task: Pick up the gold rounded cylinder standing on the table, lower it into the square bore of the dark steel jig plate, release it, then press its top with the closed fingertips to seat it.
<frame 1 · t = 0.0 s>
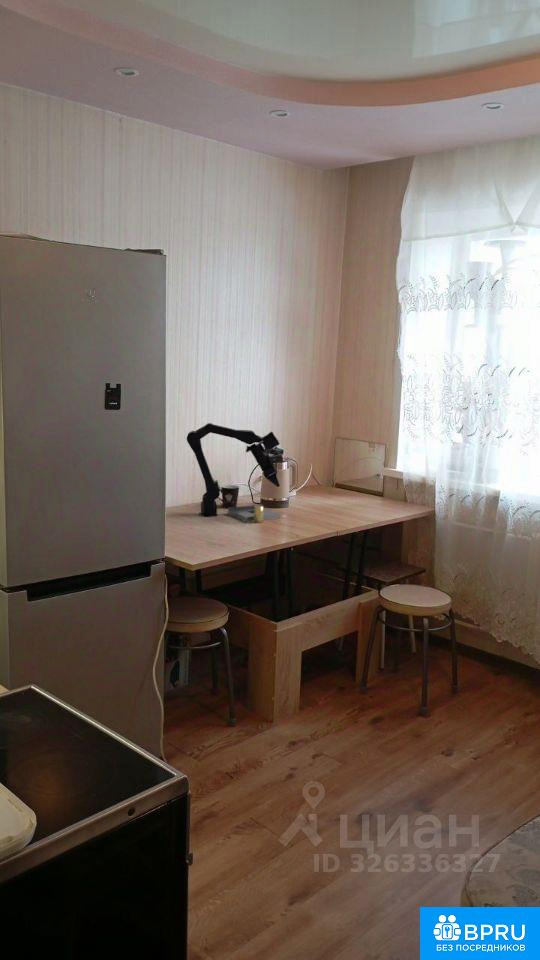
hand: (278, 484, 355), 15 cm above the table, tool tilted 35°, fingers open, 9 cm apart
coffee mug: (227, 507, 375), on the table
jig: (253, 516, 356), on the table
gold rounded cylinder: (258, 522, 345), on the table
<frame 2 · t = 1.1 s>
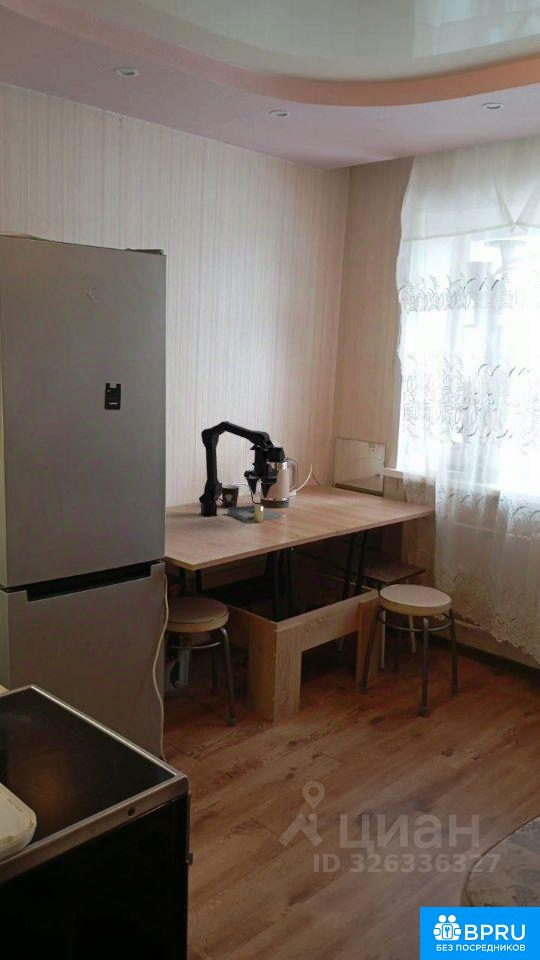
hand: (259, 496, 343), 12 cm above the table, tool pointing down, fingers open, 9 cm apart
nothing on the table moved.
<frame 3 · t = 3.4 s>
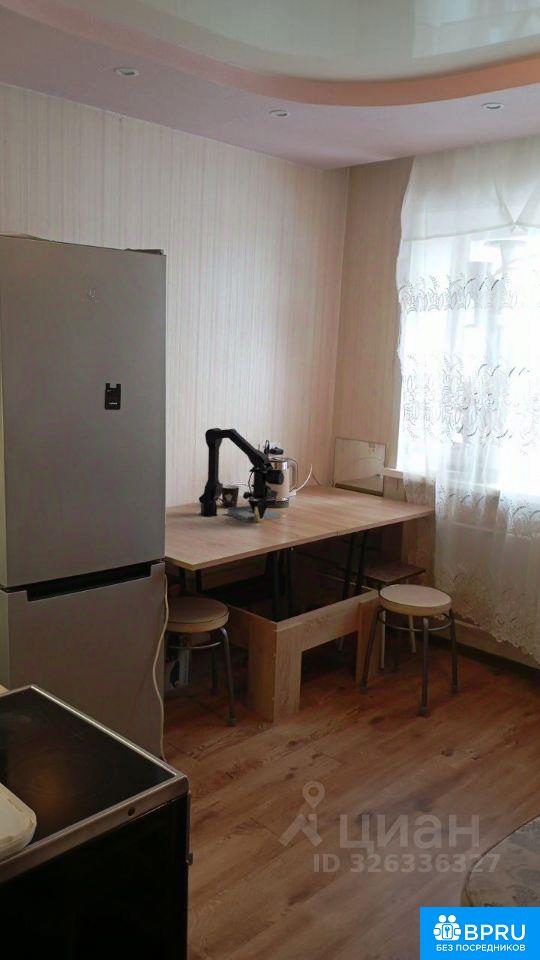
hand: (258, 517, 345), 2 cm above the table, tool pointing down, fingers closed on gold rounded cylinder, 4 cm apart
gold rounded cylinder: (258, 522, 345), on the table, touching gripper
everything else where it was.
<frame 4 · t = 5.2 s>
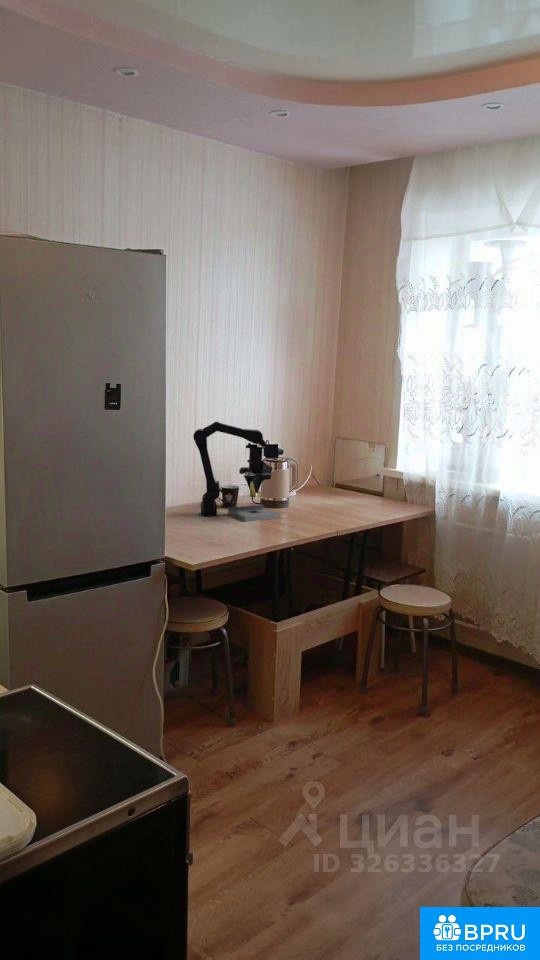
hand: (254, 492, 354), 11 cm above the table, tool pointing down, fingers closed on gold rounded cylinder, 4 cm apart
gold rounded cylinder: (254, 496, 355), point 9 cm above the table, touching gripper
everything else where it was.
when the fingers open (3 cm above the table, at t = 7.0 s): gold rounded cylinder drops 1 cm, resting in jig.
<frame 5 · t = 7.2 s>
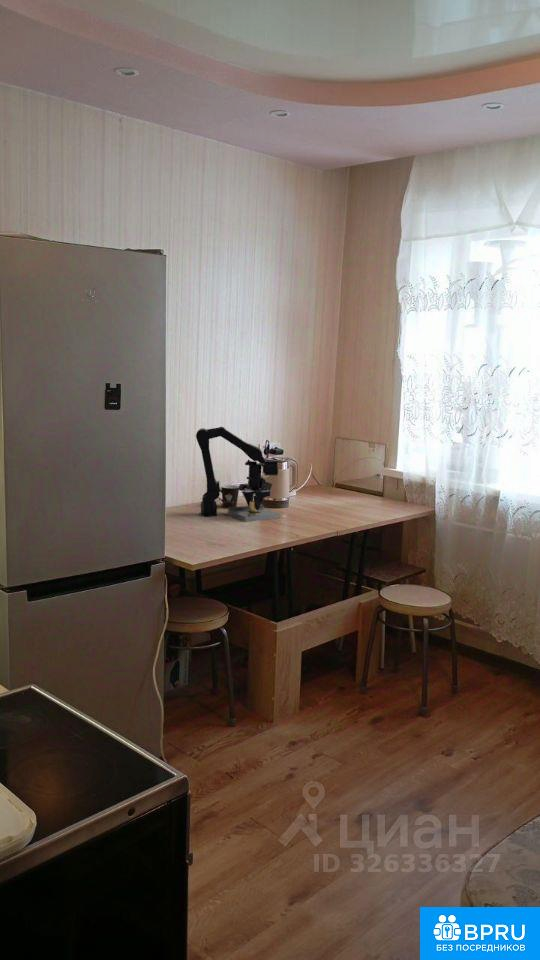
hand: (253, 508, 356), 3 cm above the table, tool pointing down, fingers open, 6 cm apart
gold rounded cylinder: (253, 516, 356), resting in jig
everything else where it was.
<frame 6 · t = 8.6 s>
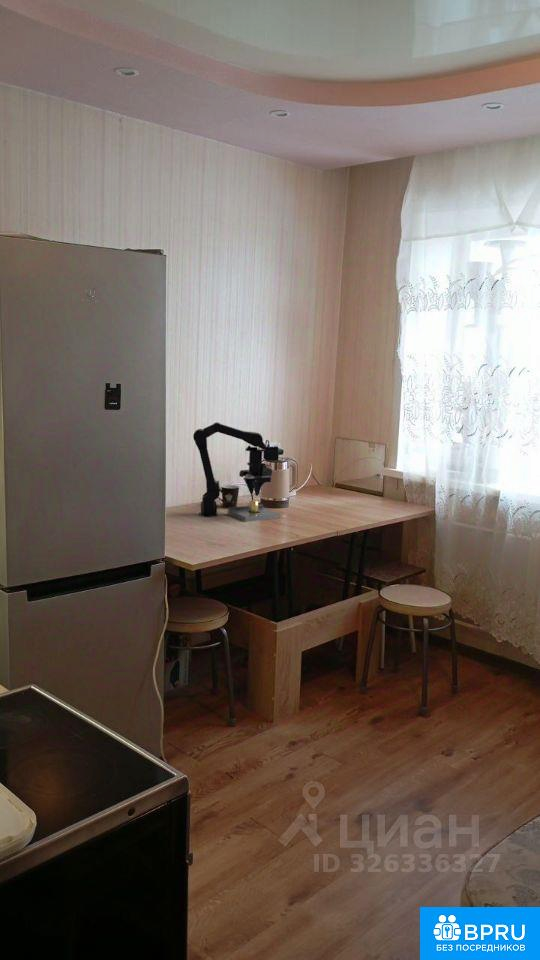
hand: (254, 494, 355), 10 cm above the table, tool pointing down, fingers open, 4 cm apart
nothing on the table moved.
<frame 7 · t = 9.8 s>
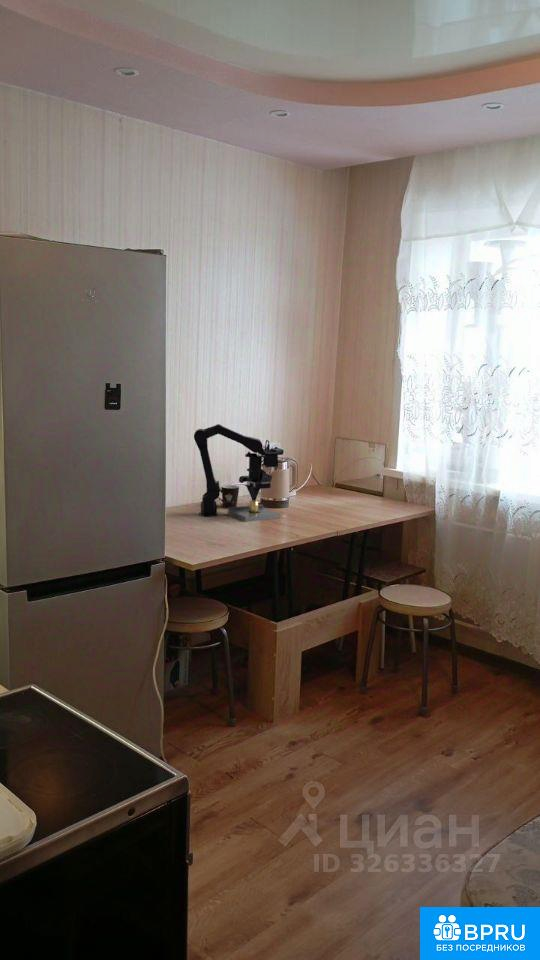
hand: (254, 500, 355), 7 cm above the table, tool pointing down, fingers closed
nothing on the table moved.
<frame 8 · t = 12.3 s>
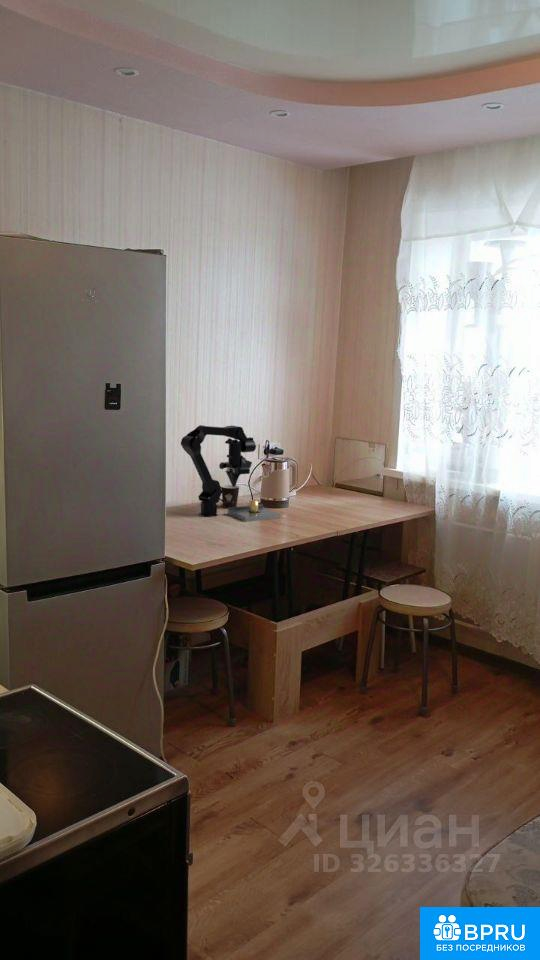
hand: (233, 486, 362), 12 cm above the table, tool pointing down, fingers closed
nothing on the table moved.
at the end: gold rounded cylinder 0.0 cm off-centre on the jig, point 0.0 cm above the jig's base; gold rounded cylinder tilted 0°; the gripper is holding nothing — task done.
